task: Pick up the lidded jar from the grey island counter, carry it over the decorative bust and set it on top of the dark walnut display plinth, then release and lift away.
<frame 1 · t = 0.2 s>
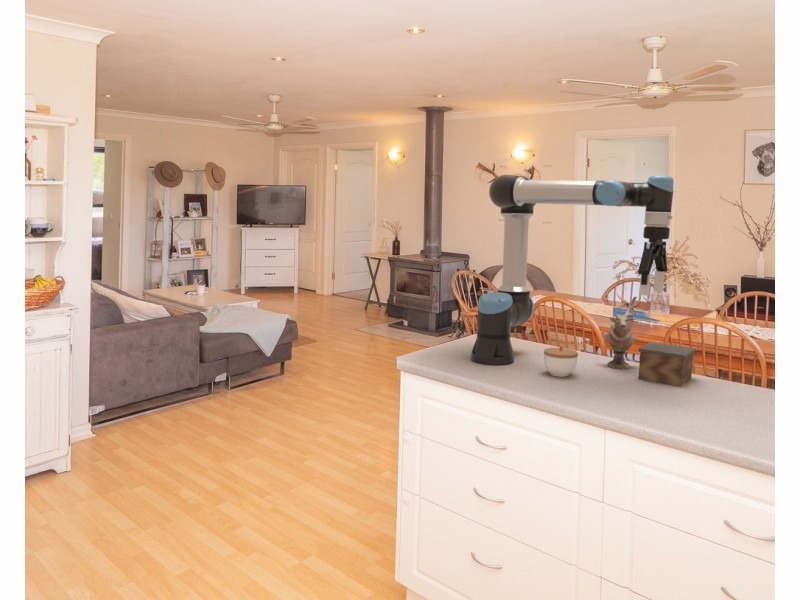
hand: (651, 293, 202), 28 cm above the worktop, fingers open, 13 cm apart
lidded jar: (559, 374, 207), on the worktop
decorative bust: (616, 367, 219), on the worktop
display plinth: (664, 378, 205), on the worktop
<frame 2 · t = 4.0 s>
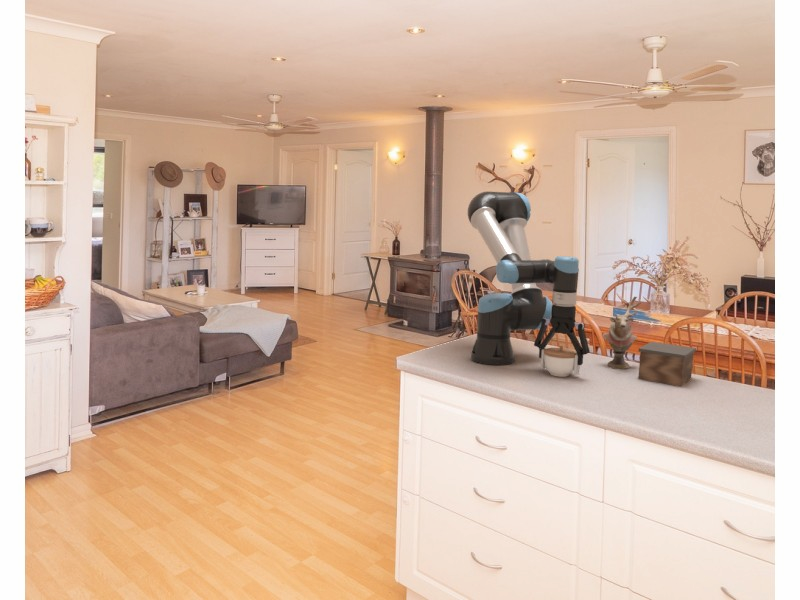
hand: (559, 371, 207), 1 cm above the worktop, fingers closed on lidded jar, 11 cm apart
lidded jar: (559, 374, 207), on the worktop, touching gripper
everything else where it was.
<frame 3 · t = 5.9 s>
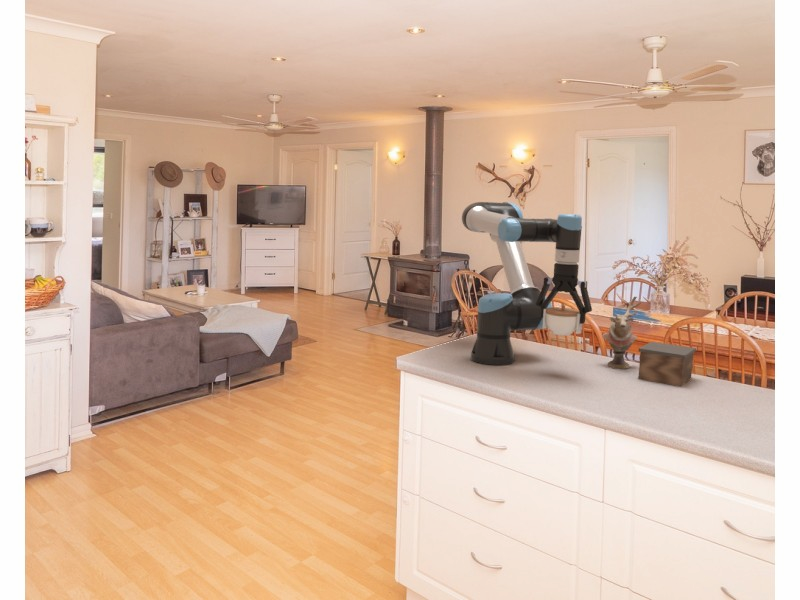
hand: (561, 330, 205), 14 cm above the worktop, fingers closed on lidded jar, 11 cm apart
lidded jar: (561, 334, 206), point 13 cm above the worktop, touching gripper
everything else where it was.
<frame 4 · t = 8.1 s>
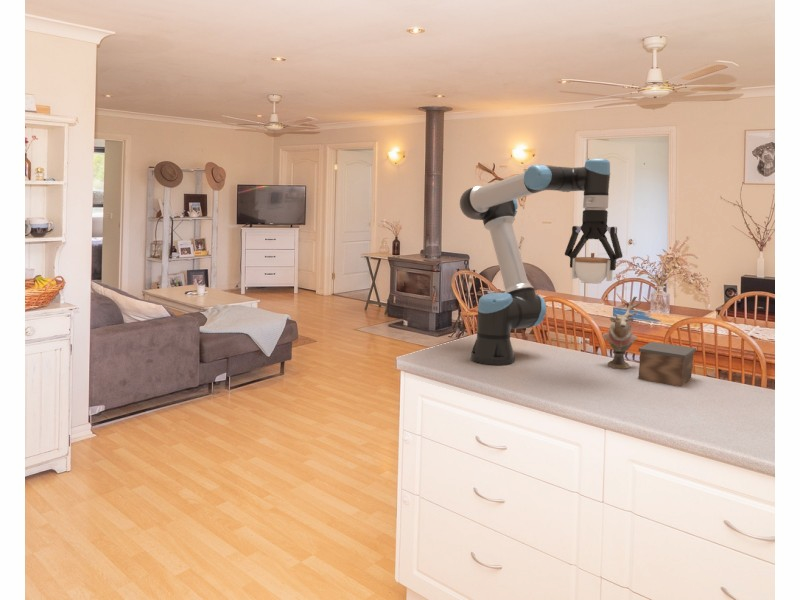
hand: (591, 279, 202), 32 cm above the worktop, fingers closed on lidded jar, 11 cm apart
lidded jar: (591, 283, 202), point 30 cm above the worktop, touching gripper
everything else where it was.
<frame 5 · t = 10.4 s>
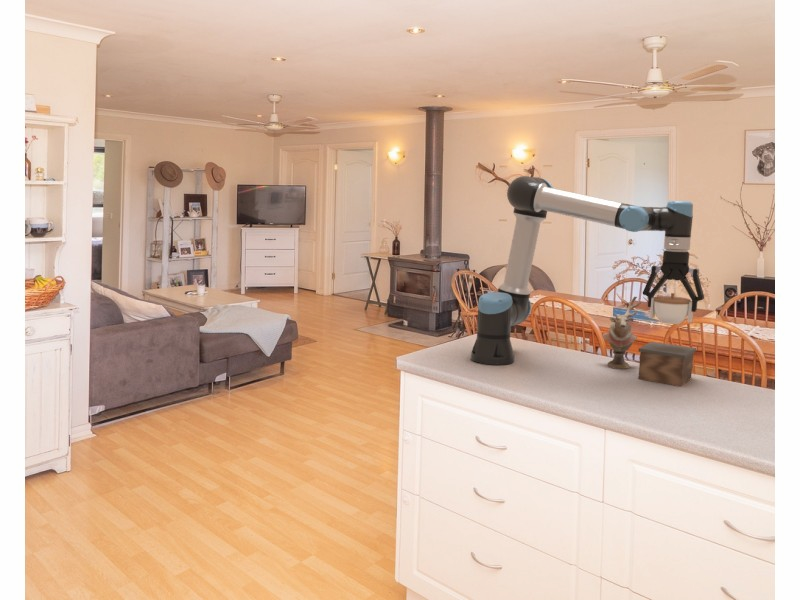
hand: (670, 319, 203), 19 cm above the worktop, fingers closed on lidded jar, 11 cm apart
lidded jar: (670, 323, 203), point 18 cm above the worktop, touching gripper
everything else where it was.
when the fingers open (13 cm above the worktop, at t = 12.2 s): lidded jar drops 2 cm, resting on display plinth.
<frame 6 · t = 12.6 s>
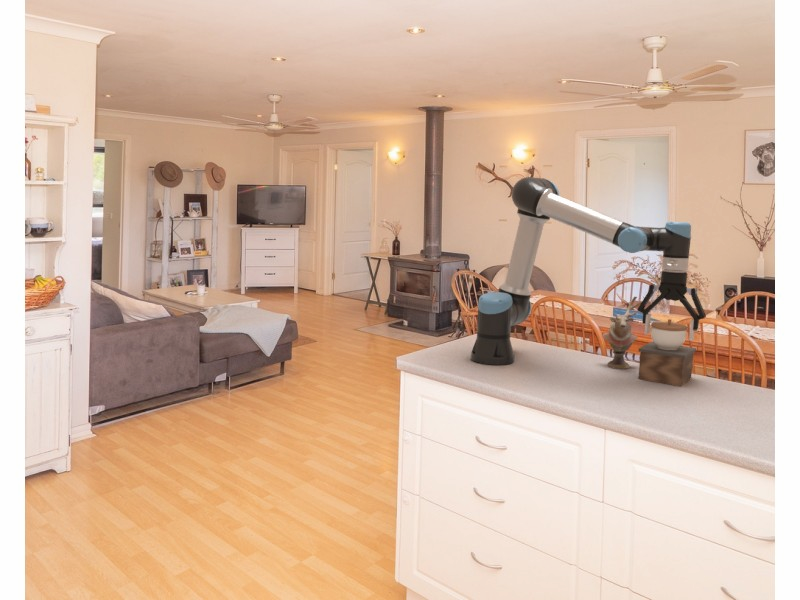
hand: (668, 336, 203), 14 cm above the worktop, fingers open, 13 cm apart
lidded jar: (667, 348, 204), point 10 cm above the worktop, touching display plinth
everything else where it was.
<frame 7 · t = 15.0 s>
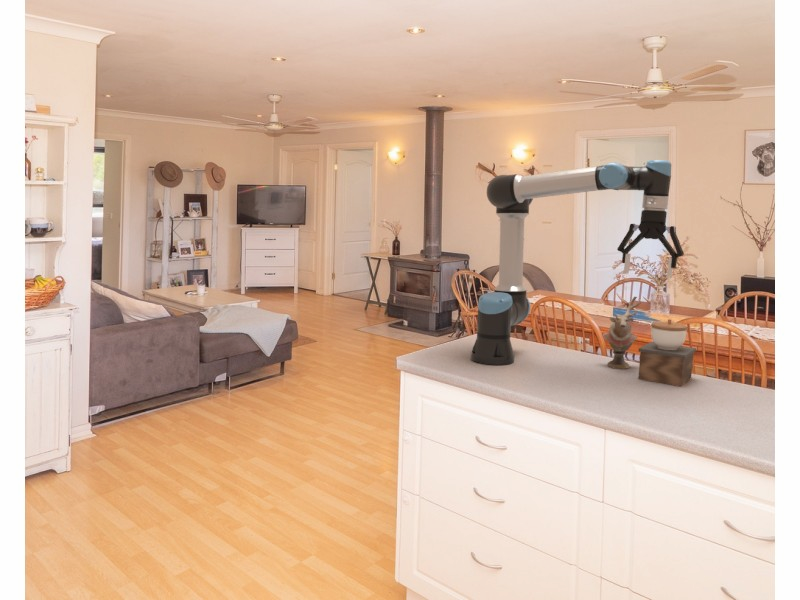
hand: (647, 275, 206), 33 cm above the worktop, fingers open, 13 cm apart
nothing on the worktop moved.
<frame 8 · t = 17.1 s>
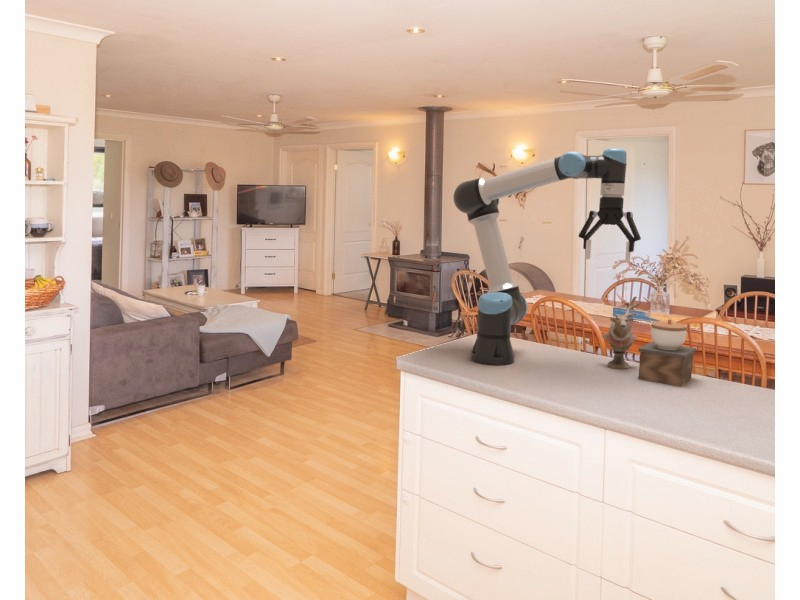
hand: (607, 260, 214), 37 cm above the worktop, fingers open, 13 cm apart
nothing on the worktop moved.
at the end: lidded jar inside the target area on the display plinth (0.1 cm from its centre), point 9.8 cm above the display plinth's base; lidded jar tilted 0°; the gripper is holding nothing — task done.
